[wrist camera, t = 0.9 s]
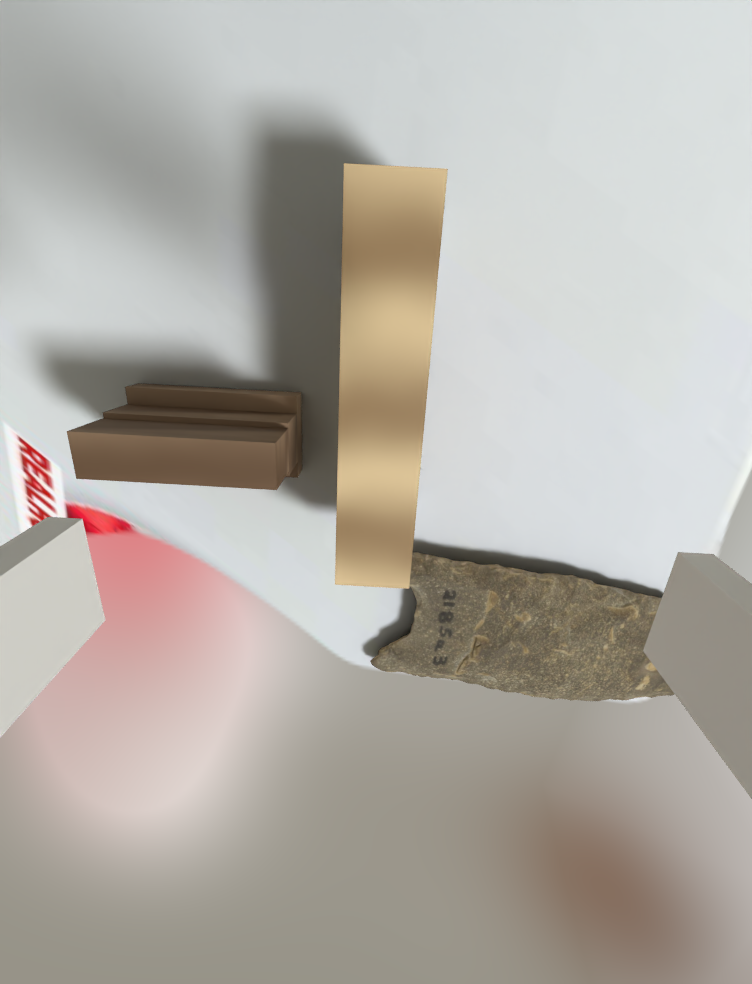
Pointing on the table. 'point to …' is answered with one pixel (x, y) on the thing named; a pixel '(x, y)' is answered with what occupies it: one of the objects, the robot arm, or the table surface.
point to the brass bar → (384, 364)
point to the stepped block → (194, 438)
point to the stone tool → (526, 632)
